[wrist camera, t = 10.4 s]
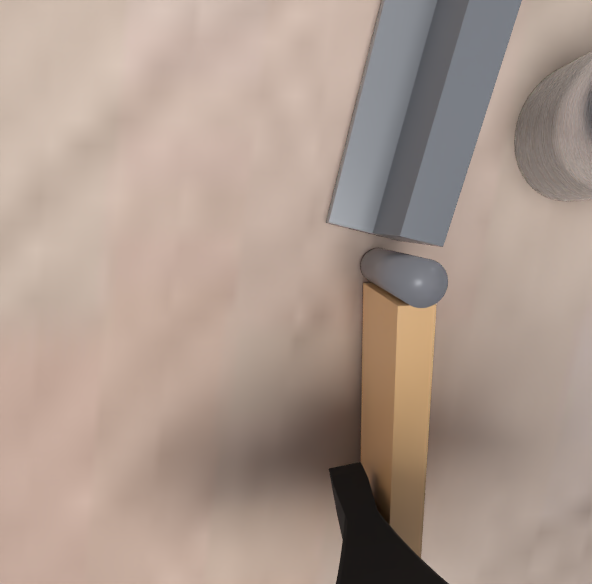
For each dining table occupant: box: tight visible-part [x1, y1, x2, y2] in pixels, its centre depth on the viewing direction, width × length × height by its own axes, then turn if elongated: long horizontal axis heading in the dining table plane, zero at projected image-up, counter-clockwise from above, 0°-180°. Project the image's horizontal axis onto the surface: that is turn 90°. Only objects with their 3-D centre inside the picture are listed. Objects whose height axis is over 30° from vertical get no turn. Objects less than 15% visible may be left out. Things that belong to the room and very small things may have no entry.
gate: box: [361, 248, 448, 558], centre depth 11 cm, size 12×1×4 cm, turn 1°
